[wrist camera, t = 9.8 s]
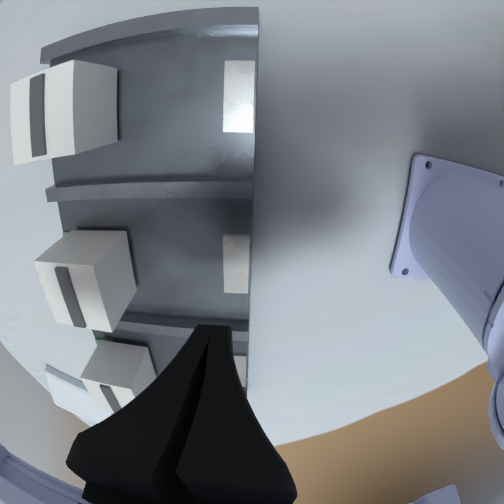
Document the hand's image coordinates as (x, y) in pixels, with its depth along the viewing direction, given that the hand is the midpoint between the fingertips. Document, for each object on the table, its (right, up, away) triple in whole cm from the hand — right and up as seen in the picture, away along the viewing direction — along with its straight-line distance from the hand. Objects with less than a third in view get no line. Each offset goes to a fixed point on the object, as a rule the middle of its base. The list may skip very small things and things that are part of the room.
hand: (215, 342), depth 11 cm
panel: (-5, +4, +6) cm, 9 cm away
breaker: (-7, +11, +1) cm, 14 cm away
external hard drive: (-17, -14, +16) cm, 27 cm away
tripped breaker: (-8, -5, +9) cm, 13 cm away
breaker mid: (-8, +3, +5) cm, 10 cm away
